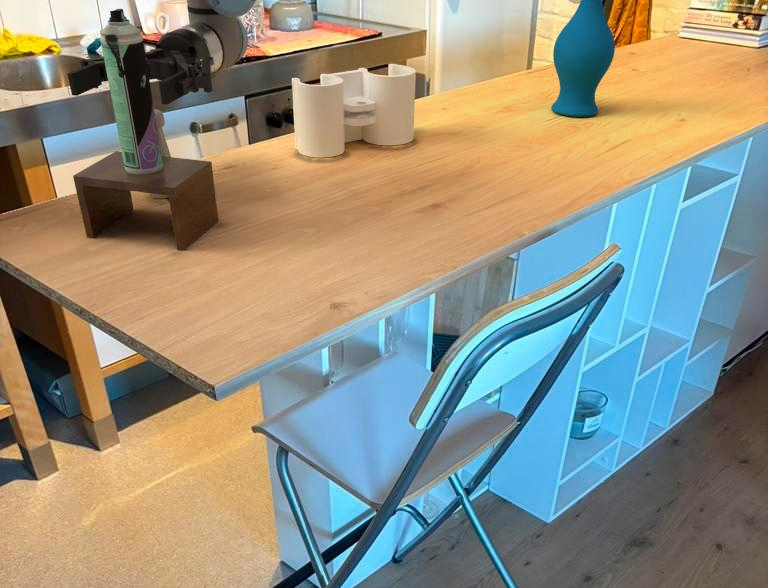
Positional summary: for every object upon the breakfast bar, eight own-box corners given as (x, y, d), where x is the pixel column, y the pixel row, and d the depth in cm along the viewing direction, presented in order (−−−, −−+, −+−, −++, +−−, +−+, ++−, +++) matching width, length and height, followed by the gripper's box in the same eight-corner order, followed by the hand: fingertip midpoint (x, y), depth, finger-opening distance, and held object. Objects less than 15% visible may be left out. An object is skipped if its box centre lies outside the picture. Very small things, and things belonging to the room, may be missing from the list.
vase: (551, 102, 184) (571, -47, 165) (607, 108, 181) (634, -43, 162) (540, 116, 175) (560, -40, 157) (599, 122, 172) (626, -36, 154)
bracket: (314, 161, 150) (312, 89, 142) (289, 147, 156) (285, 77, 148) (423, 140, 161) (426, 72, 153) (395, 128, 167) (397, 62, 159)
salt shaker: (137, 195, 135) (121, 111, 127) (162, 185, 139) (149, 103, 130) (161, 203, 133) (147, 117, 124) (187, 193, 136) (175, 109, 128)
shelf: (86, 237, 122) (72, 175, 116) (127, 209, 130) (116, 150, 125) (184, 250, 118) (174, 187, 112) (218, 221, 127) (211, 161, 121)
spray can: (162, 173, 117) (136, 12, 104) (123, 175, 116) (92, 13, 103) (164, 161, 121) (139, 5, 108) (126, 162, 120) (97, 5, 107)
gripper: (265, 89, 124) (205, 127, 109) (120, 76, 129) (42, 110, 114) (261, 33, 119) (198, 65, 104) (110, 22, 124) (28, 50, 109)
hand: (116, 89), depth 109 cm, fingers open, 13 cm apart
